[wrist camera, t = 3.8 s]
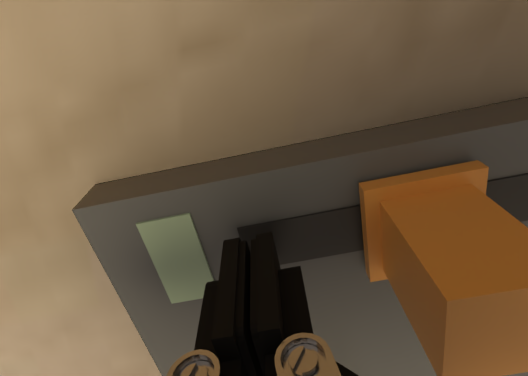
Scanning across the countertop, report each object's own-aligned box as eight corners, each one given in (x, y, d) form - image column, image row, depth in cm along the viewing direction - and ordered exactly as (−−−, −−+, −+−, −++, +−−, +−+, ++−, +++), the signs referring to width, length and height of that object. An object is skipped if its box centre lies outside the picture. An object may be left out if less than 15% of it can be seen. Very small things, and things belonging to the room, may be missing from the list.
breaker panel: (669, 68, 12) (743, 78, 10) (566, 374, 20) (598, 411, 19) (95, 184, 14) (70, 211, 12) (213, 427, 22) (210, 466, 20)
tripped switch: (477, 159, 11) (623, 254, 7) (468, 253, 13) (578, 375, 9) (358, 183, 12) (424, 288, 7) (365, 271, 13) (421, 399, 9)
